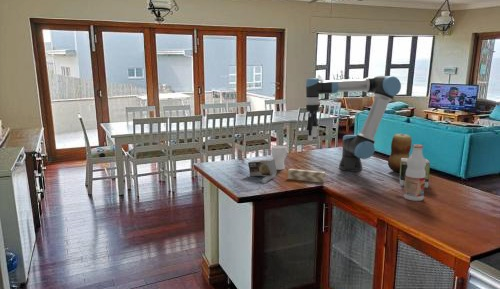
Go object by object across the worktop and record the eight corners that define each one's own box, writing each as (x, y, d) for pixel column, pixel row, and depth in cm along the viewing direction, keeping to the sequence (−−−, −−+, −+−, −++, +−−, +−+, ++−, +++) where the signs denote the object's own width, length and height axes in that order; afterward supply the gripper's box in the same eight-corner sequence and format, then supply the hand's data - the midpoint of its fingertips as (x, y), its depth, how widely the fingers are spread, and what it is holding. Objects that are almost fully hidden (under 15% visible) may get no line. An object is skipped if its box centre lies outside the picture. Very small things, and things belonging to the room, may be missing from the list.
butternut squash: (403, 175, 239) (406, 136, 234) (383, 171, 249) (386, 134, 244) (413, 171, 248) (416, 134, 243) (394, 168, 258) (396, 131, 253)
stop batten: (276, 174, 242) (276, 171, 241) (265, 183, 224) (265, 179, 223) (273, 174, 242) (273, 171, 242) (262, 182, 224) (262, 179, 224)
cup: (285, 170, 251) (286, 148, 249) (270, 170, 253) (270, 148, 251) (287, 166, 262) (287, 145, 259) (272, 166, 264) (272, 145, 261)
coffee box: (274, 158, 234) (252, 160, 243) (269, 160, 229) (247, 162, 237) (277, 173, 235) (255, 173, 244) (272, 175, 230) (249, 176, 238)
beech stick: (325, 181, 227) (325, 172, 226) (324, 183, 225) (324, 173, 223) (289, 177, 235) (289, 168, 234) (288, 179, 233) (288, 169, 232)
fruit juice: (401, 194, 202) (405, 143, 197) (420, 195, 201) (424, 143, 195) (406, 200, 193) (410, 146, 188) (425, 201, 191) (430, 147, 186)
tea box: (426, 183, 223) (428, 158, 220) (428, 188, 213) (430, 162, 210) (398, 181, 227) (400, 157, 225) (399, 185, 218) (401, 160, 215)
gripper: (310, 102, 242) (310, 135, 246) (301, 106, 219) (302, 142, 223) (322, 102, 239) (322, 135, 243) (314, 106, 216) (314, 142, 220)
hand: (312, 138), depth 233 cm, fingers open, 13 cm apart
